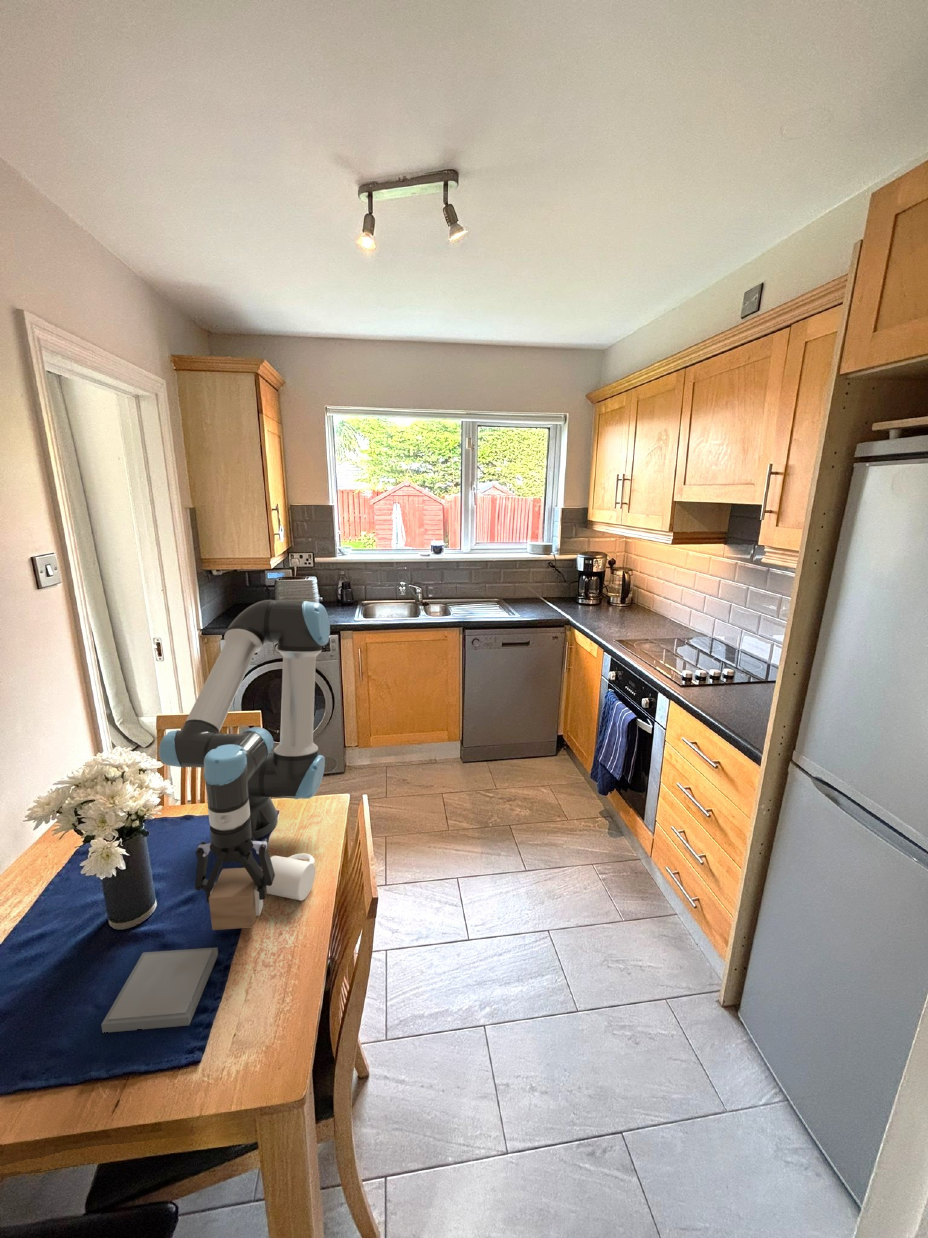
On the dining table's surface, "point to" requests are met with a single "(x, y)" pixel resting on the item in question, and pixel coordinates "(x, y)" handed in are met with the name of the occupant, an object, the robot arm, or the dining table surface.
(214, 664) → the robot arm
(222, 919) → the cube
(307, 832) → the dining table surface
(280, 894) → the mug
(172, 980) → the plate
